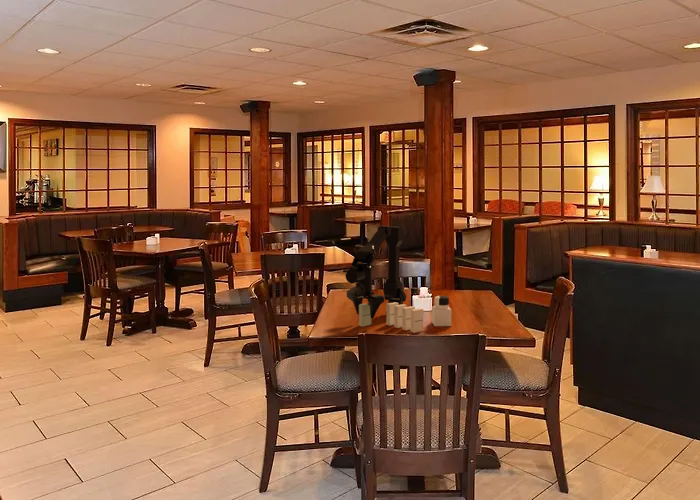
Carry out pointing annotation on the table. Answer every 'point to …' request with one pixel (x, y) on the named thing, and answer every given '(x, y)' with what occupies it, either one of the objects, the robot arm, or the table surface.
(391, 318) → the domino
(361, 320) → the sage domino
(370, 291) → the robot arm
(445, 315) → the medicine bottle
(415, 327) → the domino
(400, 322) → the domino
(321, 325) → the table surface
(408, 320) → the domino
